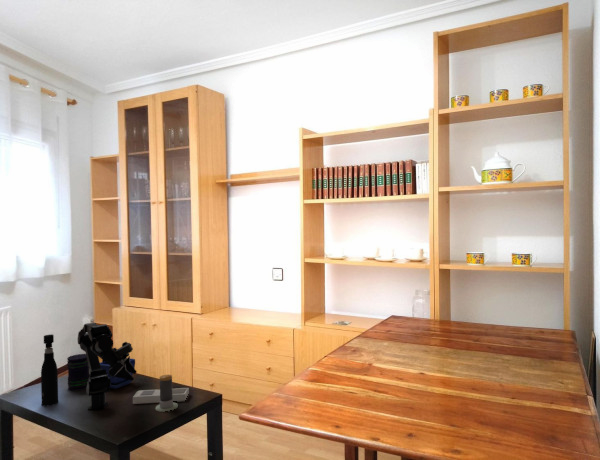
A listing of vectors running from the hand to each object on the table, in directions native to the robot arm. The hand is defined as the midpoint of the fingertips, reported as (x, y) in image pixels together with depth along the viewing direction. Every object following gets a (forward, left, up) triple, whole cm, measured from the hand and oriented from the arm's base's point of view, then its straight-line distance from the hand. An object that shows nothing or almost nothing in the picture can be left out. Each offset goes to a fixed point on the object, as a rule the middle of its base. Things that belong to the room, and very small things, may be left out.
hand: (134, 376), depth 184 cm
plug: (-1, -13, -13) cm, 19 cm away
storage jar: (+32, +37, -14) cm, 50 cm away
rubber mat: (-1, -13, -13) cm, 19 cm away
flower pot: (+32, +19, -14) cm, 39 cm away
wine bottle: (+12, +41, -14) cm, 44 cm away
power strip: (+9, -9, -13) cm, 18 cm away
